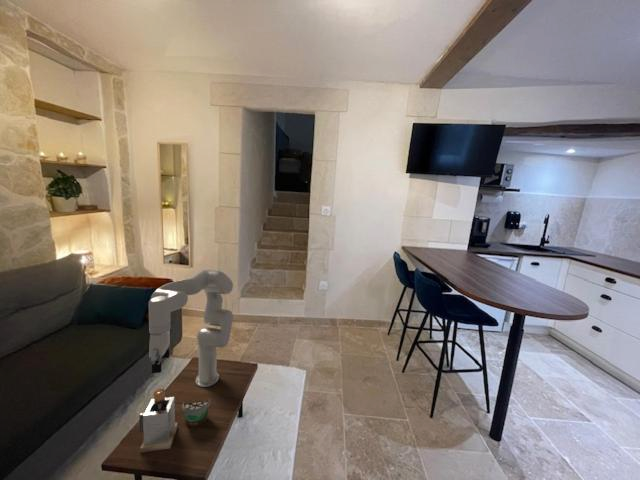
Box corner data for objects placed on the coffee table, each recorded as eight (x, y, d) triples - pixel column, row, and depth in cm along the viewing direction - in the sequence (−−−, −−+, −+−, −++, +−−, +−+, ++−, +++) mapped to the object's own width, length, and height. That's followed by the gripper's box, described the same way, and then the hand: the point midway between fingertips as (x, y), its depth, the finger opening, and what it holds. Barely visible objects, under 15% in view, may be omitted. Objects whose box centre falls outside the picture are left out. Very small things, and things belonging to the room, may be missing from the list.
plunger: (155, 429, 114) (154, 388, 111) (168, 427, 116) (168, 387, 113) (150, 439, 109) (150, 397, 107) (164, 438, 111) (164, 396, 108)
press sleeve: (145, 427, 115) (144, 399, 113) (174, 424, 118) (174, 396, 116) (135, 446, 107) (135, 416, 104) (168, 442, 109) (167, 413, 107)
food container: (179, 432, 117) (179, 412, 115) (182, 420, 123) (182, 401, 121) (208, 427, 120) (209, 408, 119) (210, 416, 126) (210, 398, 124)
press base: (150, 429, 117) (150, 425, 117) (177, 426, 120) (177, 422, 119) (140, 452, 106) (140, 448, 106) (170, 448, 109) (170, 444, 109)
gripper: (157, 317, 114) (158, 353, 116) (140, 338, 97) (142, 379, 100) (176, 316, 115) (177, 352, 118) (163, 337, 99) (163, 377, 102)
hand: (161, 364), depth 109 cm, fingers open, 9 cm apart
